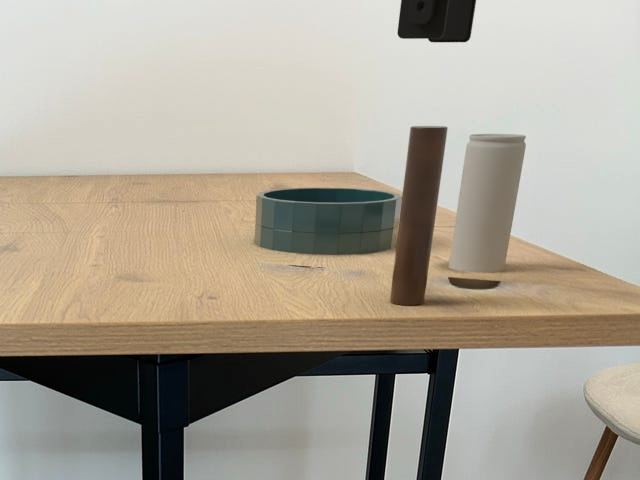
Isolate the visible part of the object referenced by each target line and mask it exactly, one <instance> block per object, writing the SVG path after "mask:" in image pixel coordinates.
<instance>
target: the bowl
mask: <svg viewBox="0 0 640 480" xmlns="http://www.w3.org/2000/svg"><path fill="white" fill-rule="evenodd" d="M255 202H256V203H255V220H254V221H255V224H254V245H256V246H258V247H259V248H262V249H266V250H270V251H275V252H283V253H290V254H301V255H320V256H321V255H323V256H325V255H327V256H328V255H332V256H333V255H334V256H342V255H345V256H346V255H364V254H373V253H380V252H381V253H382V252H384V251H389V250H392V249H394V248H395V247H396V245H397V237H398V228H399V220H400V211H401V203H402V195H401V194H399V193H395V192H392V191H386V190H380V189H369V188H358V187H357V188H356V187H315V186H314V187H292V188H291V187H290V188H289V187H288V188H278V189H269V190H268V189H267V190H264V191H261V192H258V193H257V195H256V201H255ZM289 266H291V267H300V268H310V267H311V266H307V265H297V264H289ZM316 267H317V268H316V269H324V267H320V266H316Z"/></svg>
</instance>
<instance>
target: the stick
mask: <svg viewBox="0 0 640 480" xmlns="http://www.w3.org/2000/svg"><path fill="white" fill-rule="evenodd" d="M447 135H448V126H444V125H414V126H413V125H412V126H410V127H409V136H408V145H407V153H406V160H405V161H406V162H405V171H404V177H403V178H404V179H403V187H402V195H401V197H402V201H401V210H400V218H399V225H398V235H397V243H396V246H395V247H396V248H395V255H394V261H393V270H392V278H391V279H392V280H391V289H390V296H389V297H390V298H389V302H390V303H392V304H394V305H399V306H419V305H423V304H424V303H425V298H426V289H427V283H428V275H429V268H430V267H429V266H430V261H431V254H432V245H433V238H434V232H435V224H436V215H437V210H438V209H437V208H438V202H439V194H440V188H441V180H442V179H441V178H442V172H443V165H444V159H445V158H444V157H445V150H446V143H447V137H448V136H447Z"/></svg>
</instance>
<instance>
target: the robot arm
mask: <svg viewBox="0 0 640 480" xmlns="http://www.w3.org/2000/svg"><path fill="white" fill-rule="evenodd" d="M476 5H477V0H400V7H399V15H398V25H397V36H398V38H400V39H403V40H405V39H406V40H412V39H413V40H416V39H417V40H418V39H419V40H425V39H427V40H428V42H429V43H467V42H469V41H470V39H471V37H472V29H473V24H474V17H475V10H476Z"/></svg>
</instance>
